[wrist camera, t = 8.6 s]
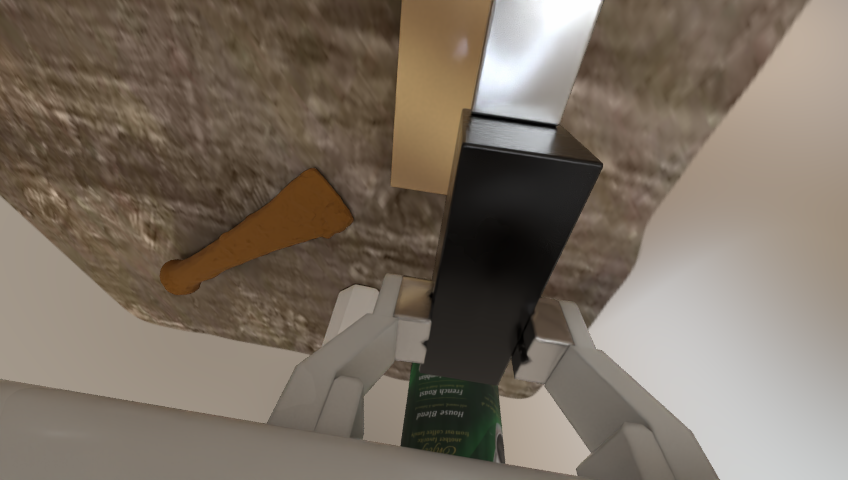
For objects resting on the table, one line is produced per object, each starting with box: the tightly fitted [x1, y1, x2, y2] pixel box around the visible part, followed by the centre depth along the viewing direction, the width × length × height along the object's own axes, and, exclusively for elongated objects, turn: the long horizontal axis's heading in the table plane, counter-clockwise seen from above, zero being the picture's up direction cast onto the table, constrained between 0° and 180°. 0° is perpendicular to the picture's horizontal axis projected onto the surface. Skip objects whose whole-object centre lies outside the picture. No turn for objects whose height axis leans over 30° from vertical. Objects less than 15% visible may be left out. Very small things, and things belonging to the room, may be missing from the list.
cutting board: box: [390, 0, 490, 195], centre depth 16 cm, size 20×10×1 cm, turn 173°
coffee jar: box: [401, 363, 505, 464], centre depth 25 cm, size 10×8×19 cm
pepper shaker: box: [322, 284, 379, 346], centre depth 26 cm, size 5×5×11 cm
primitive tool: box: [160, 168, 354, 295], centre depth 26 cm, size 19×6×4 cm, turn 121°
